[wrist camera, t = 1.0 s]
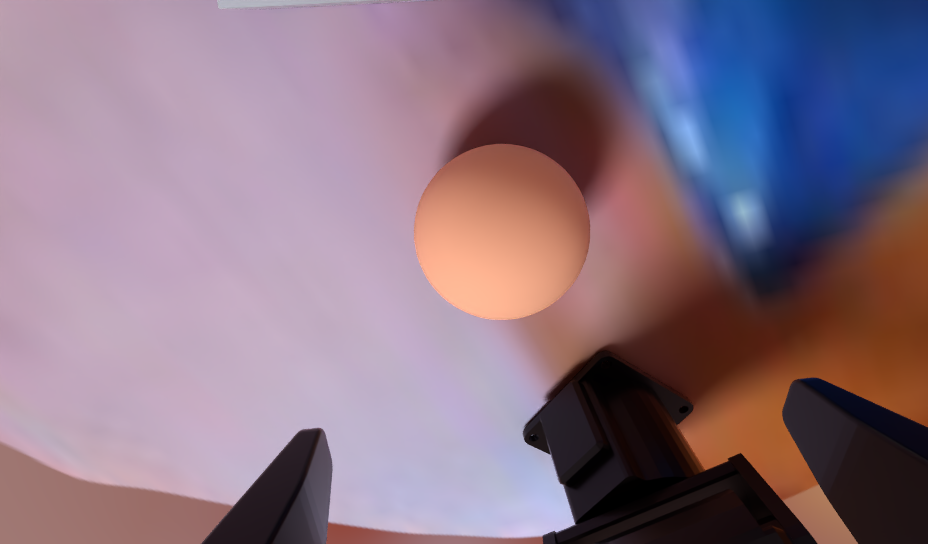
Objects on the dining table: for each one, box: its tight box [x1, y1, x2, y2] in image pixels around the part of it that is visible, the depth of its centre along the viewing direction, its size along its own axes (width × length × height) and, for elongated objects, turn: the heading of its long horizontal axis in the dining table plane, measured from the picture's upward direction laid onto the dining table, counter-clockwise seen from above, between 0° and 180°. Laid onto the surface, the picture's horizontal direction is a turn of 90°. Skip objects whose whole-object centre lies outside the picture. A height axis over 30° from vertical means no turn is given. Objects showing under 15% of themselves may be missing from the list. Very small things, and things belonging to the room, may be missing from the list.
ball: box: [414, 144, 590, 320], centre depth 17 cm, size 6×6×6 cm
